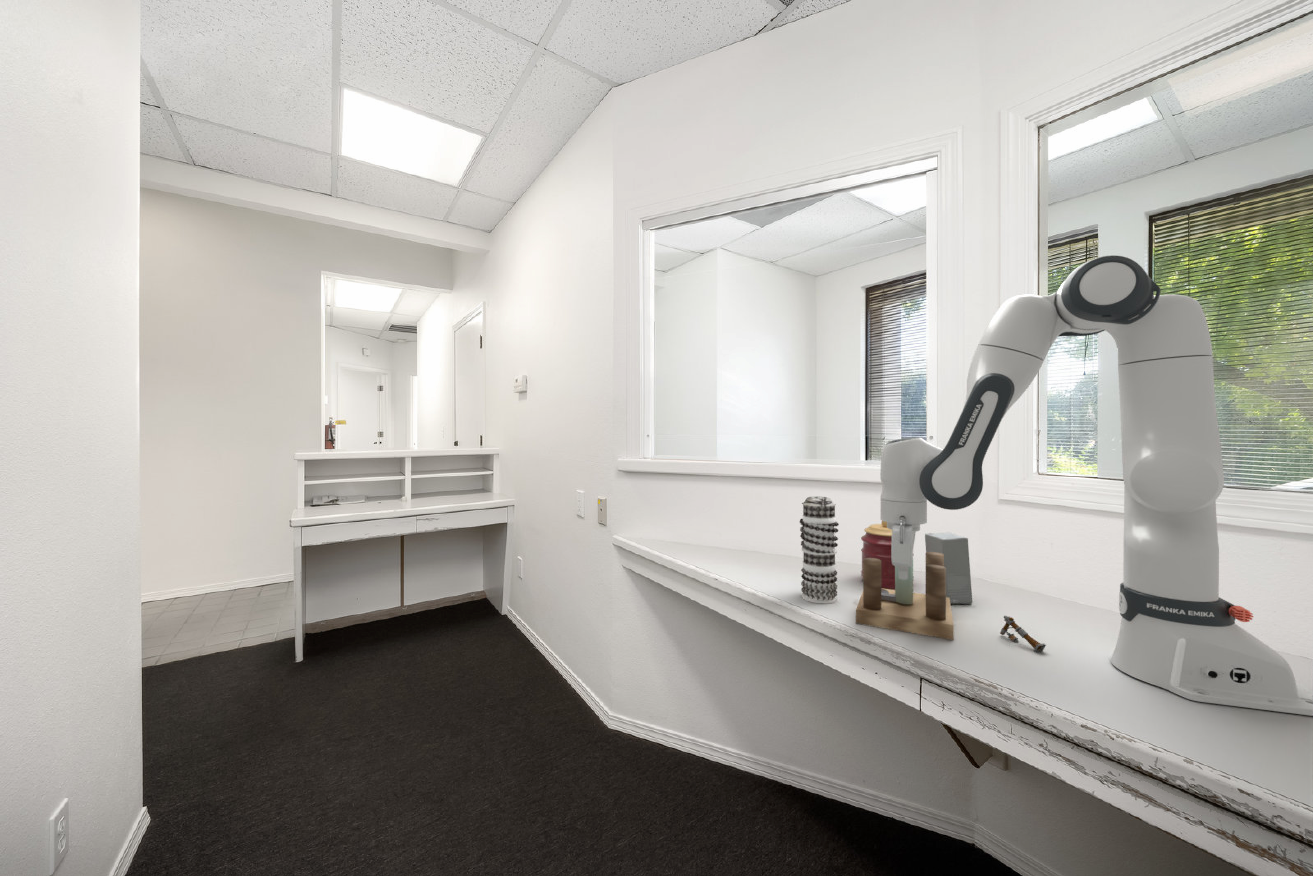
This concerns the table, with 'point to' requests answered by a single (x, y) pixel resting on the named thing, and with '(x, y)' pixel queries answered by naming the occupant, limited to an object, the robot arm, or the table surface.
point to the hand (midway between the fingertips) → (903, 577)
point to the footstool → (920, 617)
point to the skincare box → (953, 564)
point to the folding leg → (901, 588)
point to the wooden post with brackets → (1021, 632)
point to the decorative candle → (819, 550)
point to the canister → (880, 551)
